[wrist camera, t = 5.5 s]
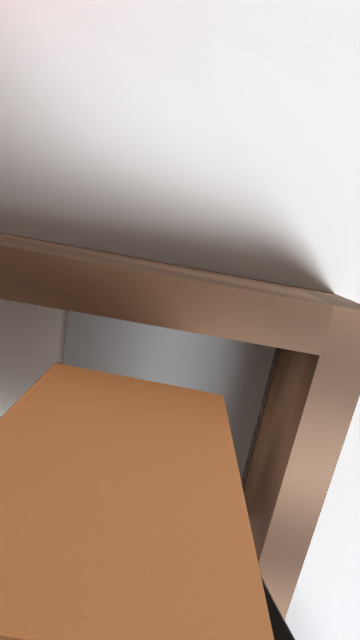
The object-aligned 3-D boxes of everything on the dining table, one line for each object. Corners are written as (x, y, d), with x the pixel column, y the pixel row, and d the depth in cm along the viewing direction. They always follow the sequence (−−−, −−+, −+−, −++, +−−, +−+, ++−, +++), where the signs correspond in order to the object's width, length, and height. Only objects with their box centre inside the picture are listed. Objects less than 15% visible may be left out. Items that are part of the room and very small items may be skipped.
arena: (238, 625, 17) (250, 721, 14) (-102, 569, 17) (-175, 653, 14) (335, 294, 13) (386, 315, 10) (-112, 212, 13) (-220, 204, 9)
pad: (232, 512, 16) (233, 514, 16) (51, 481, 15) (50, 483, 15) (280, 328, 13) (280, 329, 13) (70, 290, 13) (69, 291, 13)
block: (223, 395, 9) (283, 683, 3) (173, 591, 11) (155, 1001, 5) (55, 362, 9) (-184, 602, 3) (32, 567, 11) (-148, 957, 5)
